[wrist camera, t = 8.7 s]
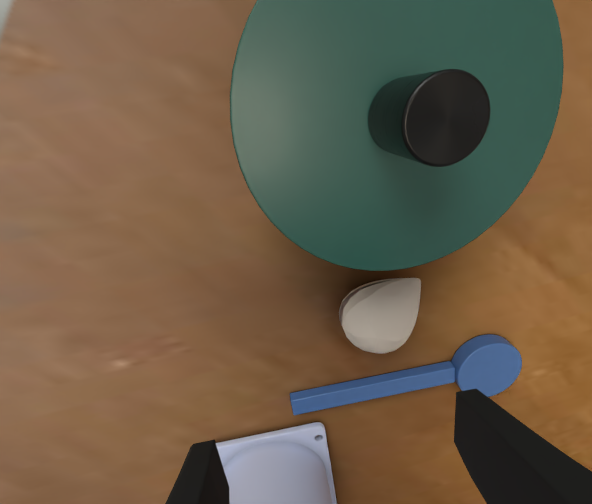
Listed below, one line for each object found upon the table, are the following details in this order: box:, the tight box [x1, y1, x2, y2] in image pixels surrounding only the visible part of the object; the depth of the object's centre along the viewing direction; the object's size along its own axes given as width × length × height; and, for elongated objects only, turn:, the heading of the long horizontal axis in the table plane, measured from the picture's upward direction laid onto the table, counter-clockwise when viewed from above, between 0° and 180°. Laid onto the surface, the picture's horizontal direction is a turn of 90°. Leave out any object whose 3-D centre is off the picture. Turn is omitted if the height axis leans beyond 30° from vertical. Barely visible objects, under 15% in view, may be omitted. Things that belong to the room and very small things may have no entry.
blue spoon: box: [290, 334, 522, 415], centre depth 23 cm, size 4×15×1 cm, turn 98°
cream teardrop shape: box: [339, 278, 421, 353], centre depth 20 cm, size 4×5×2 cm
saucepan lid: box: [230, 0, 563, 271], centre depth 10 cm, size 10×10×4 cm
